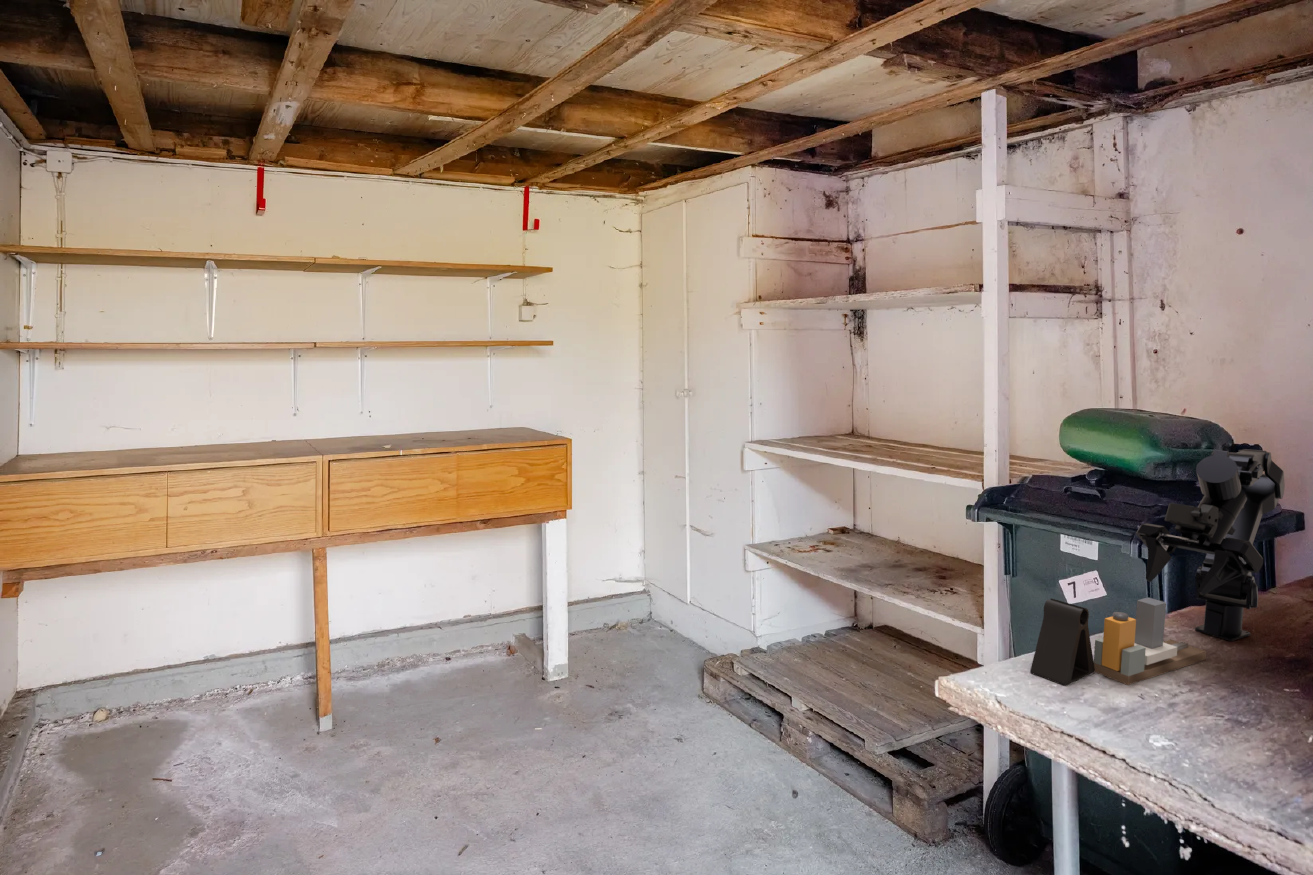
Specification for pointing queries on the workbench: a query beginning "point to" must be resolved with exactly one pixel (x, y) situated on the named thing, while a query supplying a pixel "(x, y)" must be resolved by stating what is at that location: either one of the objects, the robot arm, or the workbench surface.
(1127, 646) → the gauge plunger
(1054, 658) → the phone stand
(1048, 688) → the workbench surface
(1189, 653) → the rail bed
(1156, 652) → the carriage
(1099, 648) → the end housing
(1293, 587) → the workbench surface
